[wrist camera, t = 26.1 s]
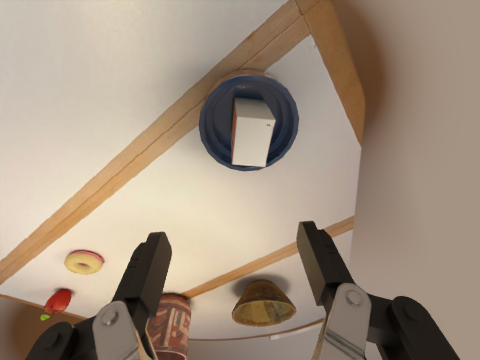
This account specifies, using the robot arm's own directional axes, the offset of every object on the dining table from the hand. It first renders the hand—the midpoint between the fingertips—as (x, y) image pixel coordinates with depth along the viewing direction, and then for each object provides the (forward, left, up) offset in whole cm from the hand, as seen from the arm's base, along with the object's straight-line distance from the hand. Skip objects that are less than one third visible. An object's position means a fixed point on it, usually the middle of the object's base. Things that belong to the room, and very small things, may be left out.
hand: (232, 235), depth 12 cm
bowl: (-6, +69, -30) cm, 76 cm away
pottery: (+30, +75, -30) cm, 86 cm away
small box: (-3, +3, -30) cm, 30 cm away
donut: (+48, +43, -30) cm, 71 cm away
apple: (+65, +61, -30) cm, 94 cm away
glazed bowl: (-3, +3, -30) cm, 30 cm away
